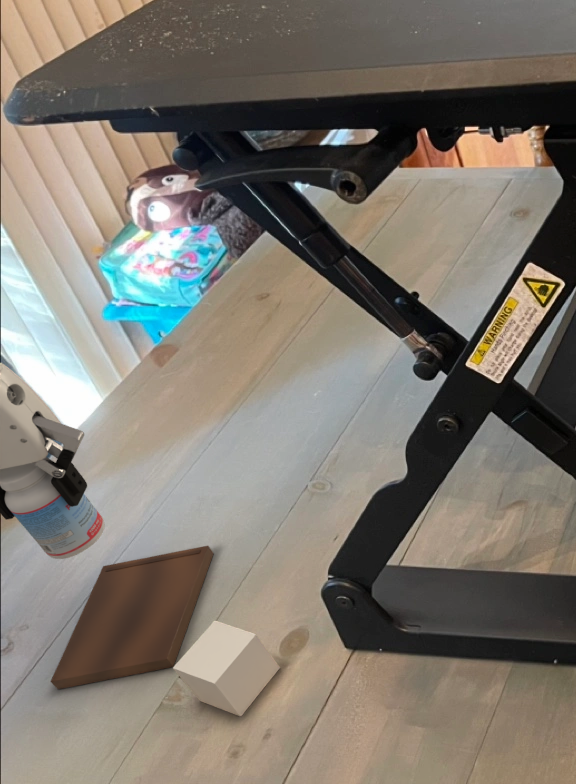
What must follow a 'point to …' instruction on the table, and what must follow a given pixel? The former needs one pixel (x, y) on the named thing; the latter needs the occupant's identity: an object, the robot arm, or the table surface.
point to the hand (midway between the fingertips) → (47, 501)
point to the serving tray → (134, 618)
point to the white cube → (227, 667)
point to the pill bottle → (50, 512)
